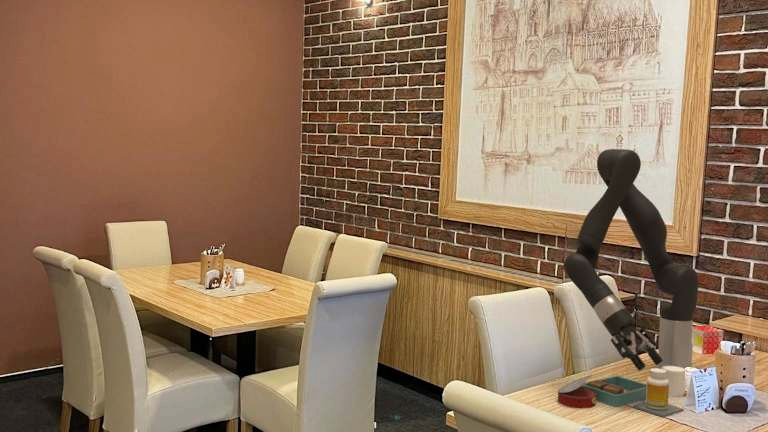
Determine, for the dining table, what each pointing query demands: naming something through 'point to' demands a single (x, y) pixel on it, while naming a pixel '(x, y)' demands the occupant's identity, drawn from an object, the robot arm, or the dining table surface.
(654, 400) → the supplement bottle
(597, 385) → the walnut block
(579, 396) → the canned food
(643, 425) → the dining table surface
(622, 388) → the walnut block
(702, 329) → the red patterned cube
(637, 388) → the teal tray
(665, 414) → the coaster
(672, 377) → the cream cylinder
